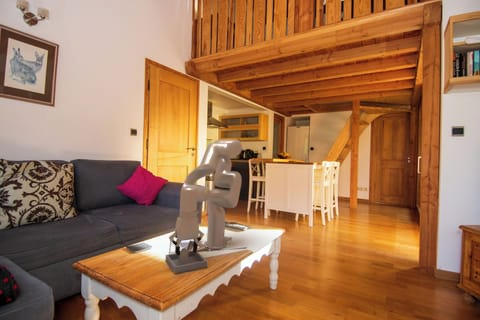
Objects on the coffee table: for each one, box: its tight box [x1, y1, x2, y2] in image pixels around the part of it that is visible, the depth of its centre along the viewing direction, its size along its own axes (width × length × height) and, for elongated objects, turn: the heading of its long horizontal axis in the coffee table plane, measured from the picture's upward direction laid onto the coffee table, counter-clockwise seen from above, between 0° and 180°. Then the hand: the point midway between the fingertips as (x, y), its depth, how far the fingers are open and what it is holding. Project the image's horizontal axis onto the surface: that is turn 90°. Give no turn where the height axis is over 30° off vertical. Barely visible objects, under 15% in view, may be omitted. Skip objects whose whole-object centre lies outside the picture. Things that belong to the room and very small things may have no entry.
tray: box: [165, 250, 208, 275], centre depth 114 cm, size 15×15×3 cm
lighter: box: [179, 240, 194, 262], centre depth 114 cm, size 7×2×8 cm, turn 136°
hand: (186, 252), depth 114 cm, fingers closed on lighter, 7 cm apart
